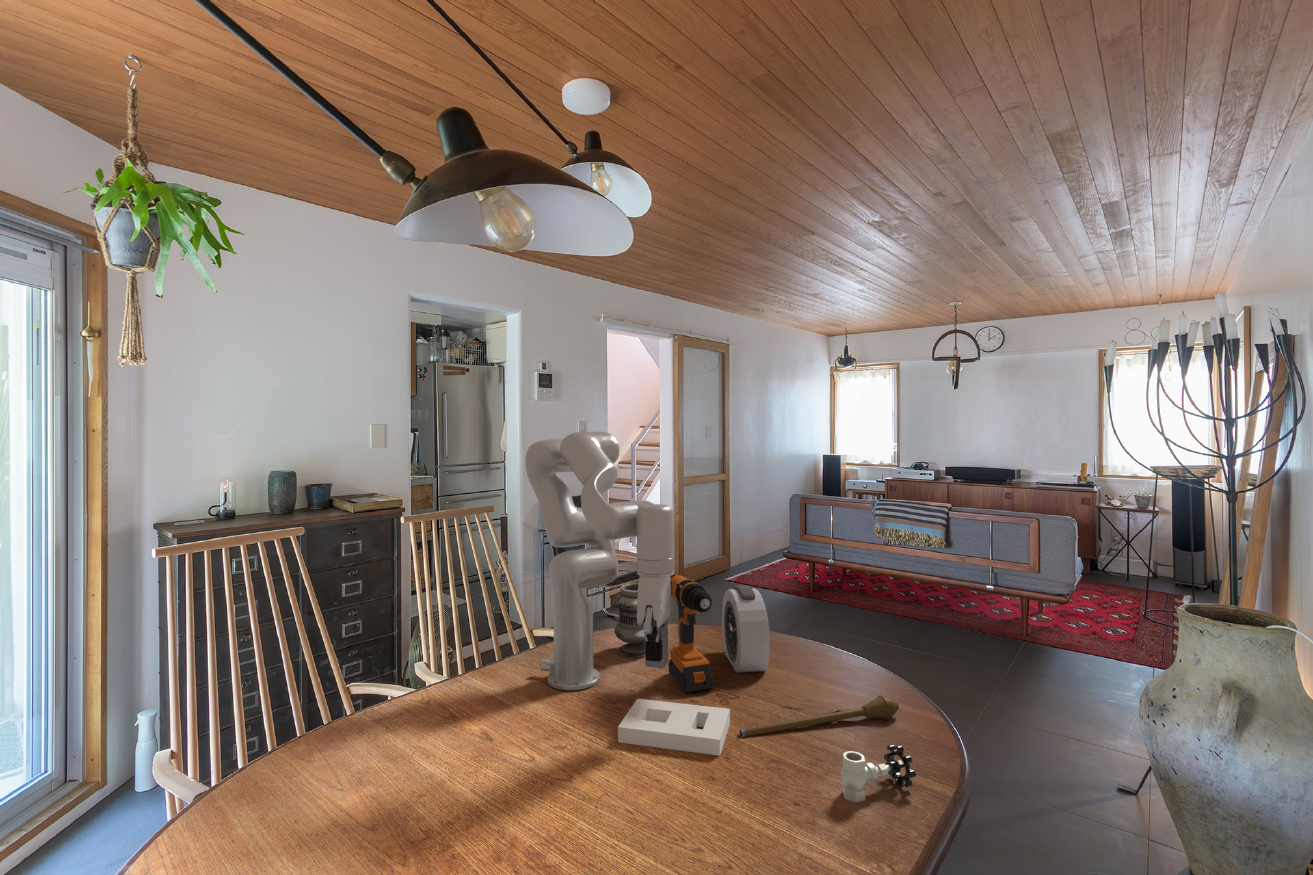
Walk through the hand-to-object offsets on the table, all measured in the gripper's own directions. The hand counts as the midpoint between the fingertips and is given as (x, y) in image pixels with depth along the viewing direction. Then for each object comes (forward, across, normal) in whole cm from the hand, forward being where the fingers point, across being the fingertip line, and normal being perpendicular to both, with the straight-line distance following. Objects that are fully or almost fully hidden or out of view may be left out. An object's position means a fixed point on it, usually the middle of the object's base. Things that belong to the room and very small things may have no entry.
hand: (656, 655), depth 122 cm
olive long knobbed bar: (+16, -10, +32) cm, 37 cm away
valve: (+16, +11, +40) cm, 45 cm away
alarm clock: (+15, -41, +13) cm, 46 cm away
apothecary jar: (+15, -42, -17) cm, 48 cm away
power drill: (+15, -23, +3) cm, 28 cm away
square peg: (+2, 0, 0) cm, 2 cm away
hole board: (+15, 0, +4) cm, 16 cm away
